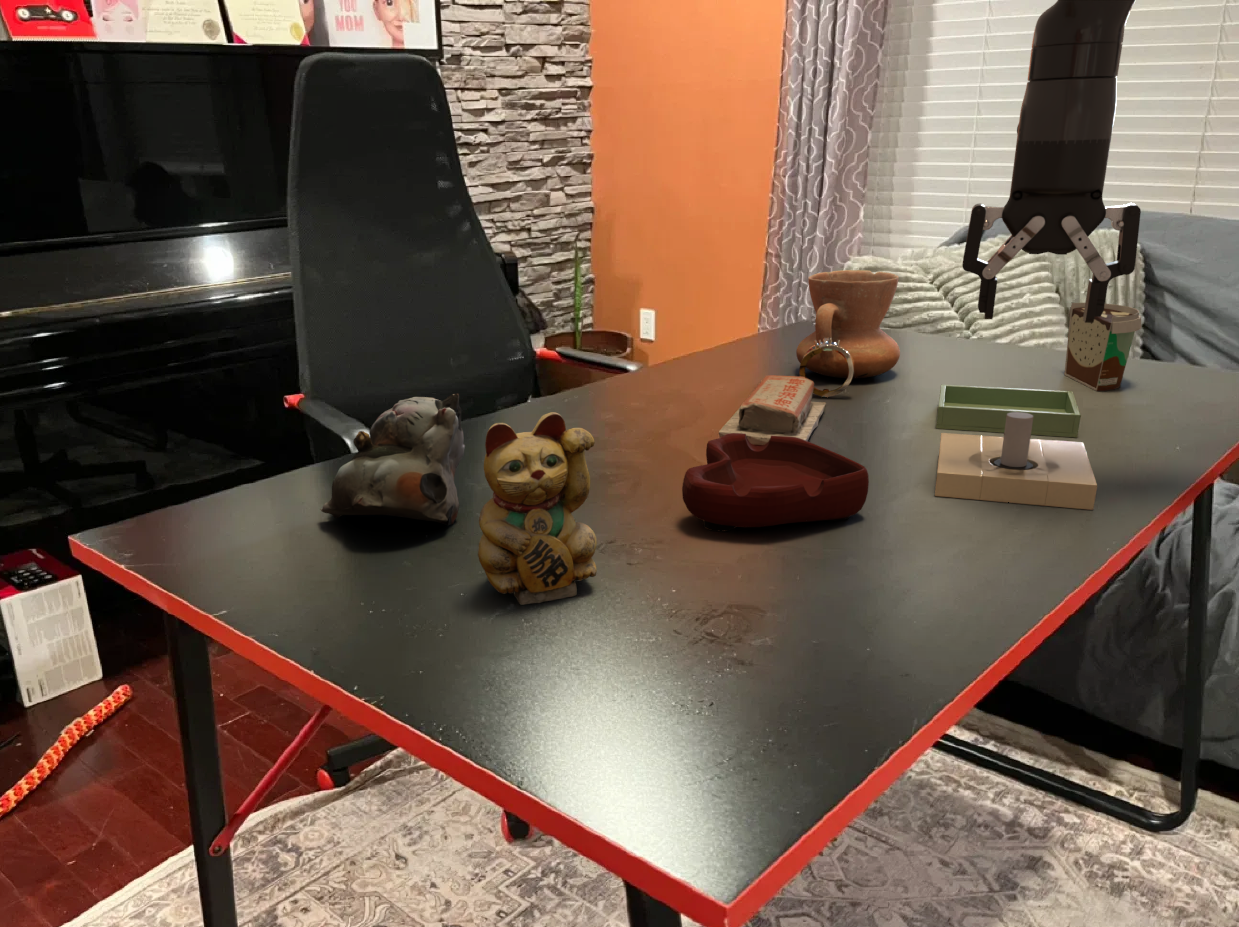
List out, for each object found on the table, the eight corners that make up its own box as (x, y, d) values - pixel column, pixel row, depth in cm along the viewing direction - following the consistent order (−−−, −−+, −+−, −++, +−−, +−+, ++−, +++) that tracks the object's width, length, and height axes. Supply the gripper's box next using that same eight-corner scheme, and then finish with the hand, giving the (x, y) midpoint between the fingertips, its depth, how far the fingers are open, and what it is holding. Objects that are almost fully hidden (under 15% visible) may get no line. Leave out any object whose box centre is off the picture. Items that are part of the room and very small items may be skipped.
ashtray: (858, 553, 87) (862, 499, 86) (673, 534, 93) (673, 483, 91) (872, 487, 103) (876, 439, 101) (713, 474, 108) (714, 429, 107)
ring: (796, 398, 136) (799, 339, 133) (801, 392, 139) (804, 334, 136) (849, 402, 134) (854, 341, 131) (853, 396, 136) (858, 337, 133)
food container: (1149, 392, 133) (1163, 316, 129) (1102, 393, 133) (1114, 317, 129) (1103, 371, 144) (1114, 300, 141) (1059, 372, 145) (1070, 301, 141)
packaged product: (750, 370, 132) (828, 374, 128) (748, 406, 133) (826, 411, 130) (718, 404, 116) (806, 410, 113) (717, 445, 118) (804, 452, 114)
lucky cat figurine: (306, 512, 101) (335, 378, 102) (417, 536, 107) (443, 409, 108) (352, 514, 88) (384, 360, 89) (475, 542, 94) (504, 396, 95)
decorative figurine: (498, 618, 78) (487, 432, 73) (464, 579, 85) (451, 406, 80) (610, 593, 82) (607, 413, 76) (568, 557, 89) (562, 390, 83)
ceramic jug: (829, 357, 159) (835, 264, 154) (918, 368, 149) (928, 270, 144) (768, 379, 147) (772, 280, 141) (861, 394, 137) (869, 287, 132)
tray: (1069, 412, 126) (1072, 391, 125) (1077, 437, 116) (1080, 414, 115) (938, 404, 131) (941, 384, 130) (936, 428, 121) (938, 406, 120)
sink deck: (1079, 464, 107) (1083, 442, 106) (1093, 510, 95) (1097, 485, 94) (938, 454, 112) (941, 432, 111) (934, 496, 100) (937, 472, 99)
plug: (1029, 482, 103) (1039, 411, 100) (1030, 493, 100) (1041, 421, 97) (990, 479, 104) (999, 409, 101) (991, 490, 101) (1000, 418, 98)
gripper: (976, 138, 88) (956, 324, 94) (1163, 133, 83) (1128, 330, 89) (976, 136, 95) (956, 310, 101) (1148, 132, 90) (1118, 315, 96)
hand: (1037, 319), depth 95 cm, fingers open, 8 cm apart
